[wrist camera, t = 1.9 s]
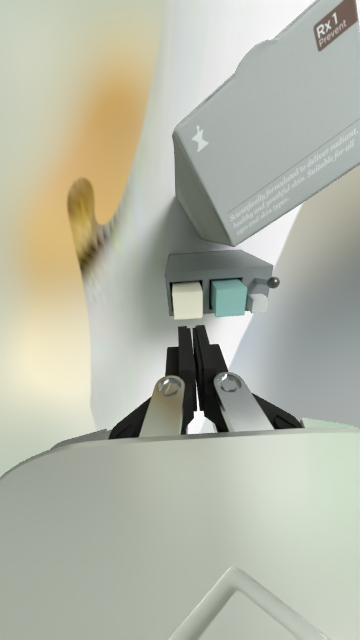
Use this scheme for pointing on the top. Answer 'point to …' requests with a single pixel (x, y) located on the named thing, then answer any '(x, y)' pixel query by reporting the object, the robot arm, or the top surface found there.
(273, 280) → the metal lever
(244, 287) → the teal button
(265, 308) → the grey button
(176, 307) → the cream button
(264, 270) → the panel
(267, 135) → the skincare box
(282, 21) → the top surface
